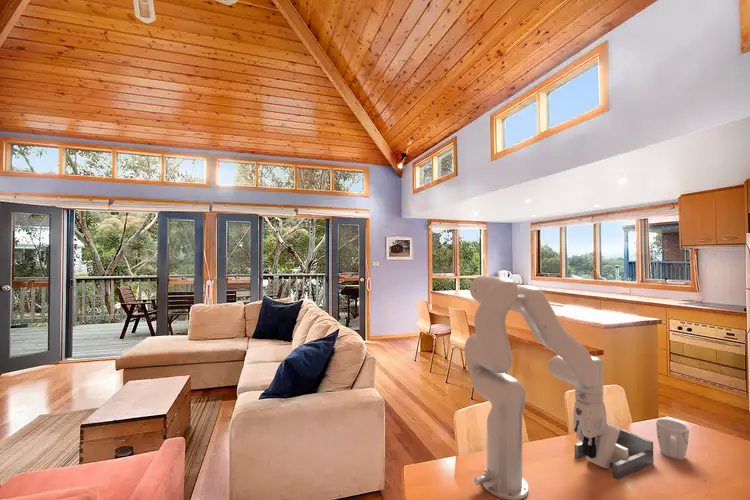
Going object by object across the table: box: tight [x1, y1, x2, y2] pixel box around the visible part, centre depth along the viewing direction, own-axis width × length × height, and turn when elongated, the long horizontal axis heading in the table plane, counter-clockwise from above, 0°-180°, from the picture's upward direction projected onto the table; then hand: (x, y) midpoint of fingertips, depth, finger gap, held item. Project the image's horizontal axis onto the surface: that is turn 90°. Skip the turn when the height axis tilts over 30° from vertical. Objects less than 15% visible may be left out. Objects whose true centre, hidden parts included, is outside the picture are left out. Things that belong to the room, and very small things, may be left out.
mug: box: [655, 418, 690, 460], centre depth 116 cm, size 11×8×10 cm
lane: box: [574, 423, 655, 480], centre depth 114 cm, size 19×13×7 cm
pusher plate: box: [610, 444, 629, 464], centre depth 113 cm, size 2×10×6 cm, turn 25°
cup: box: [585, 424, 620, 470], centre depth 111 cm, size 8×8×12 cm
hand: (589, 455), depth 109 cm, fingers closed
